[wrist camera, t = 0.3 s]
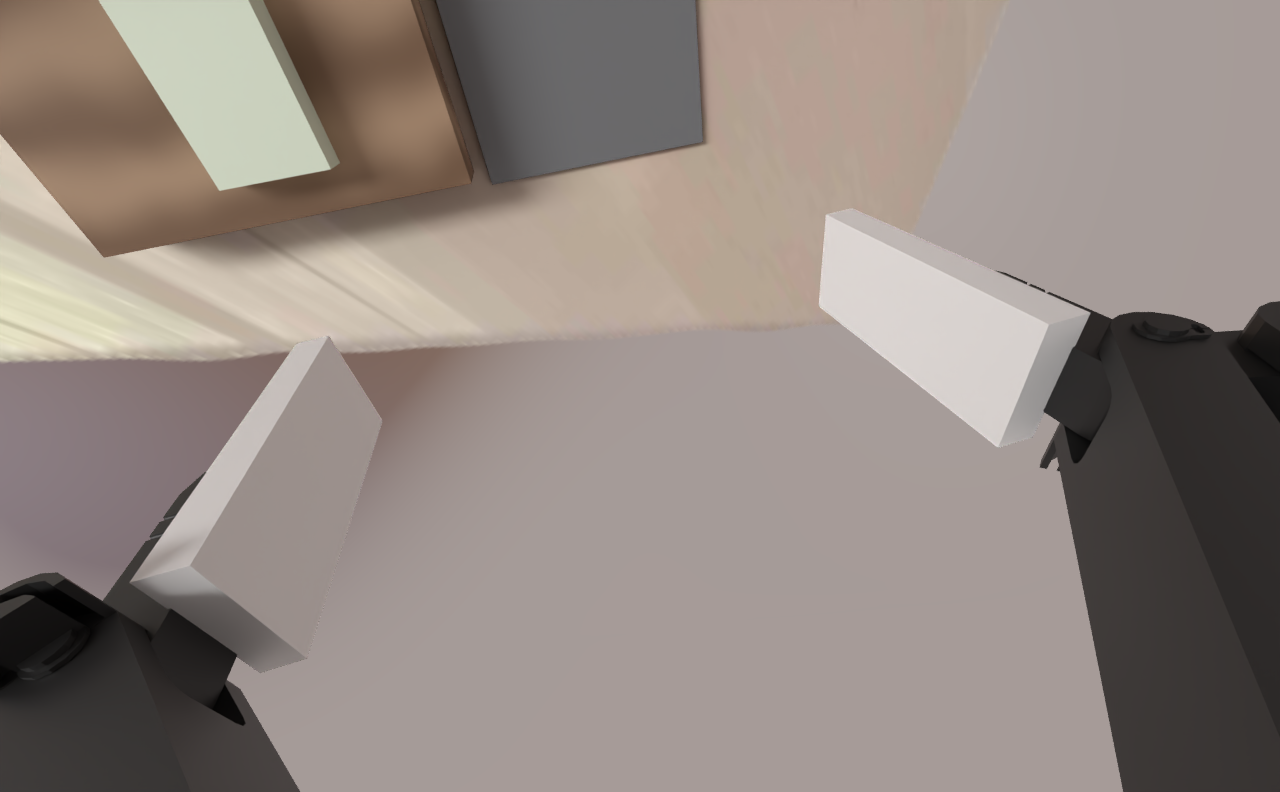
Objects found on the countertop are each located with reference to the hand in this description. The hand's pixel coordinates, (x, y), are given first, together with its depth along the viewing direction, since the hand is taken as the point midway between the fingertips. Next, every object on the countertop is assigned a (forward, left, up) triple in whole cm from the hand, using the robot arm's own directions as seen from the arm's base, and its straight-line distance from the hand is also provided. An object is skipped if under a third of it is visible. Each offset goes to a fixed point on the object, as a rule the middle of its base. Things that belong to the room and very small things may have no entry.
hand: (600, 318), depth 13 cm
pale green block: (-7, -15, -23) cm, 28 cm away
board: (-7, -16, -27) cm, 32 cm away
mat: (-7, +4, -27) cm, 28 cm away
